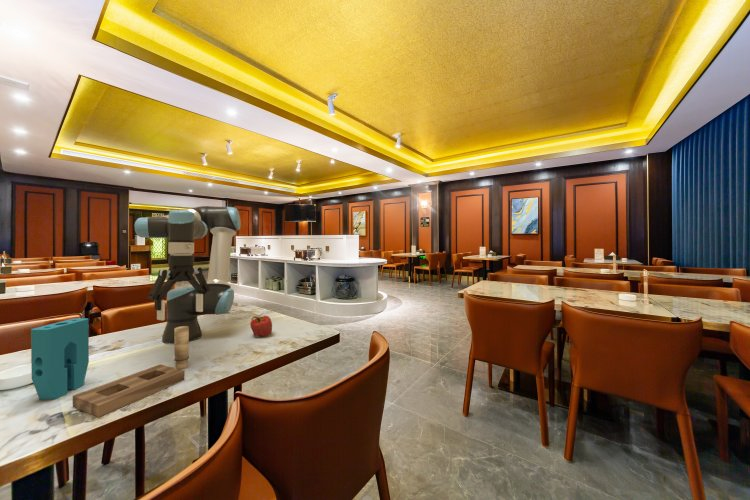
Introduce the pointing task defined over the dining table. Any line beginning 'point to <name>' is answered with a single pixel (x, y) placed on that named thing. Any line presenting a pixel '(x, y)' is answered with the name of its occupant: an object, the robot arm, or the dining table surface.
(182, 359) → the peg
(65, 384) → the block
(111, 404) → the board
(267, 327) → the red apple
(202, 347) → the dining table surface
